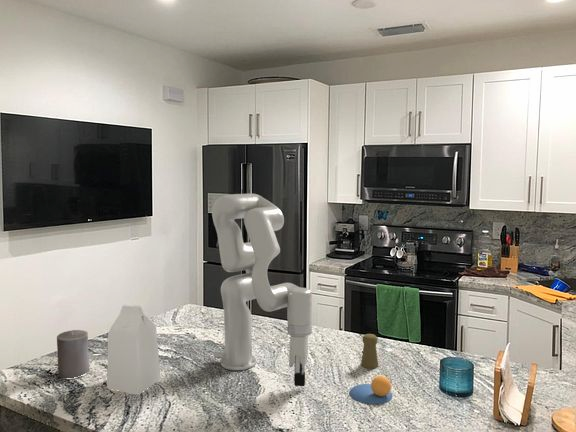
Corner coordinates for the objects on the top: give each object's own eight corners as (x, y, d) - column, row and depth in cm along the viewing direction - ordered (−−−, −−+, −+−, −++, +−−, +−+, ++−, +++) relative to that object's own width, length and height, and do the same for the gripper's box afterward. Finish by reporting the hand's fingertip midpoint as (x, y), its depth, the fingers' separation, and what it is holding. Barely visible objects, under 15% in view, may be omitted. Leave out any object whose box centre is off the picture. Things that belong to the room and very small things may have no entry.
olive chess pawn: (378, 369, 169) (378, 338, 168) (360, 368, 170) (360, 337, 169) (378, 362, 175) (379, 332, 174) (361, 361, 176) (361, 331, 175)
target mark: (348, 402, 146) (348, 401, 146) (349, 383, 159) (349, 382, 158) (393, 405, 144) (393, 404, 144) (391, 385, 157) (391, 385, 157)
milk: (160, 379, 162) (158, 302, 159) (139, 395, 151) (136, 312, 148) (130, 374, 166) (127, 299, 163) (107, 389, 155) (103, 309, 152)
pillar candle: (53, 374, 166) (51, 331, 165) (82, 365, 174) (80, 324, 172) (65, 382, 160) (63, 338, 158) (94, 373, 167) (93, 330, 165)
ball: (387, 378, 146) (393, 397, 146) (387, 370, 152) (393, 388, 152) (368, 383, 147) (374, 402, 148) (368, 374, 153) (374, 392, 154)
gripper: (291, 320, 160) (291, 374, 162) (283, 335, 146) (284, 395, 147) (314, 321, 159) (313, 375, 161) (309, 337, 144) (309, 396, 146)
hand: (299, 384), depth 154 cm, fingers closed
